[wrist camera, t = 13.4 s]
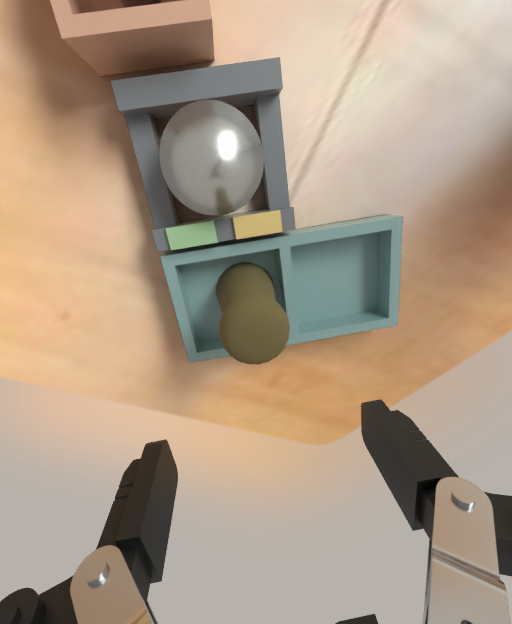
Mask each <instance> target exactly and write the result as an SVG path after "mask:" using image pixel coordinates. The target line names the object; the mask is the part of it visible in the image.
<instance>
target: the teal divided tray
mask: <svg viewBox="0 0 512 624" xmlns="http://www.w3.org/2000/svg"><path fill="white" fill-rule="evenodd" d="M402 221H403V217H402V216H395V215H387V214H385V215H379V216H373V217H367V218H361V219H355V220H349V221H343V222H336V223H330V224H324V225H318V226H312V227H306V228H300V229H294V230H288V231H282V232H279V233H273V234H267V235H261V236H255V237H249V238H243V239H233V240H227V241H221V242H218V243H212V244H206V245H200V246H194V247H188V248H182V249H176V250H166V251H165V252H164V253H163V254H162V255H161V256H160V258H161V261H162V265H163V269H164V272H165V276H166V280H167V283H168V287H169V291H170V294H171V298H172V302H173V305H174V309H175V313H176V316H177V320H178V324H179V327H180V331H181V335H182V338H183V342H184V346H185V349H186V353H187V357H188V360H189V363H193V362H198V361H204V360H209V359H215V358H220V357H226V356H230V355H229V354H228V352H227V351H226V350H225V349H224V347H223V345H222V343H221V340H220V337H219V323H220V320H221V317H222V314H223V313H222V311H221V308H220V305H219V302H218V299H217V296H216V285H217V282H218V279H219V277H220V276H221V274H222V273H223V272H224V270H226V269H227V268H229V267H230V266H232V265H234V264H237V263H241V262H252V263H254V264H257V265H260V266H261V267H263V268H264V269H265V270H266V271H268V273H269V275H270V276H271V278H272V280H273V284H274V288H275V297H276V302H277V303H278V304H280V305H281V307H282V308H283V310H284V311H285V313H286V315H287V316H288V320H289V324H290V332H289V340H288V342H287V344H286V345H292V344H297V343H303V342H308V341H314V340H319V339H325V338H330V337H336V336H341V335H347V334H352V333H358V332H363V331H369V330H374V329H380V328H385V327H391V326H396V325H398V308H399V286H400V264H401V243H402Z"/></svg>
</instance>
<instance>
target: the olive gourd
mask: <svg viewBox="0 0 512 624" xmlns="http://www.w3.org/2000/svg"><path fill="white" fill-rule="evenodd" d="M216 296H217V299H218V302H219V305H220V308H221V311H222V313H223V314H222V317H221V320H220V323H219V337H220V340H221V343H222V345H223V347H224V349H225V350H226V351H227V352H228V354H229V355H230V356H231V357H233V358H234V359H236V360H238V361H240V362H243V363H247V364H261V363H265V362H268V361H270V360H272V359H273V358H275V357H277V356H278V355H279V354H280V353H281V352H282V350H283V349H284V348H285V346H286V344H287V342H288V340H289V332H290V324H289V320H288V316H287V315H286V313H285V311H284V310H283V308H282V307H281V305H280V304H278V303H277V302H276V297H275V288H274V284H273V280H272V278H271V276H270V275H269V273H268V271H266V270H265V269H264V268H263V267H261V266H260V265H257V264H254V263H252V262H241V263H237V264H234V265H232V266H230V267H229V268H227V269H226V270H224V272H223V273H222V274H221V276H220V277H219V279H218V282H217V285H216Z"/></svg>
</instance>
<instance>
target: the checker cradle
mask: <svg viewBox="0 0 512 624" xmlns="http://www.w3.org/2000/svg"><path fill="white" fill-rule="evenodd" d="M111 85H112V88H113V92H114V96H115V99H116V103H117V107H118V110H119V112H120V113H122V114H123V115H124V116H125V118H126V121H127V125H128V129H129V132H130V136H131V140H132V144H133V147H134V151H135V155H136V158H137V162H138V166H139V170H140V173H141V177H142V181H143V184H144V188H145V192H146V196H147V199H148V203H149V207H150V210H151V214H152V218H153V222H154V225H155V229H153V230H152V234H153V238H154V241H155V245H156V249H157V252H160V251H166V250H176V249H182V248H188V247H194V246H200V245H206V244H212V243H218V242H221V241H227V240H233V239H243V238H249V237H255V236H261V235H267V234H273V233H279V232H282V231H288V230H294V229H295V219H294V208H293V207H290V205H289V194H288V184H287V173H286V163H285V152H284V142H283V131H282V121H281V110H280V100H279V93H280V91H281V90H282V88H283V87H282V75H281V64H280V57H278V58H271V59H264V60H257V61H249V62H242V63H235V64H228V65H220V66H213V67H206V68H199V69H192V70H184V71H177V72H170V73H163V74H155V75H148V76H141V77H134V78H127V79H119V80H112V81H111ZM200 100H217V101H221V102H224V103H227V104H229V105H231V106H233V107H241V106H248V105H254V110H255V118H256V126H257V134H258V136H259V138H260V141H261V145H262V149H263V156H264V167H263V174H262V175H263V183H264V191H265V199H266V207H267V209H263V210H257V211H251V212H245V213H238V214H232V215H226V216H220V217H214V218H207V219H201V220H195V221H189V222H182V223H179V221H178V217H177V213H176V209H175V204H174V200H173V196H172V192H171V190H170V189H169V187H168V185H167V184H166V181H165V179H164V177H163V174H162V170H161V165H160V157H159V151H160V141H159V137H158V133H157V129H156V124H155V120H154V119H158V118H165V117H172V116H173V115H174V114H175V113H176V112H177V111H179V110H180V109H181V108H183V107H184V106H186V105H188V104H190V103H193V102H196V101H200Z"/></svg>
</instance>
